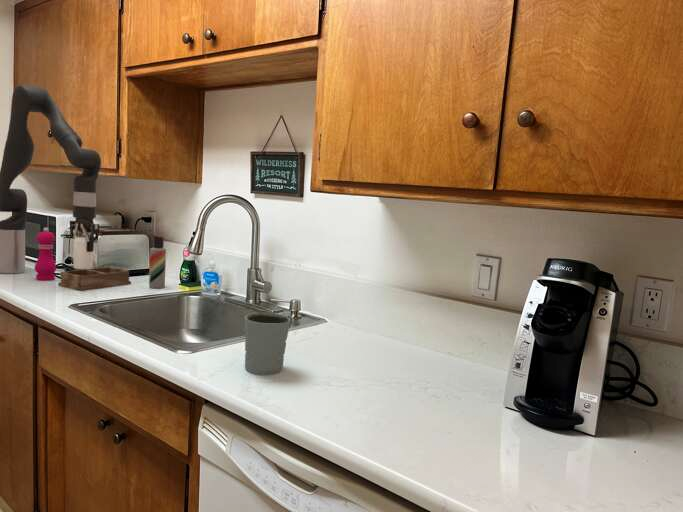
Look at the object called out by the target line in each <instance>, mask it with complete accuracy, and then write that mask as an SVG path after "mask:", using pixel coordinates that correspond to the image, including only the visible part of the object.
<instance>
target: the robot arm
mask: <svg viewBox="0 0 683 512" xmlns="http://www.w3.org/2000/svg"><path fill="white" fill-rule="evenodd" d="M10 105H11V106H10V117H9V125H8V131H7V135H6V140H5V144H4V149H3V155H2V160H1V164H0V165H1V166H0V213H1V212H2V213H12V215H11V216H9V217H8V218H5V219H2V220H0V274H21V273H25V272H26V224H27V214H28V213H27V212H28V211H27V209H28V196H27V193H26V192H25V190H23V189H22V188H21V189H20V188H11V187H12V184H13V182H14V181H15V180H16V178H18V177H19V176H20V175H21V174H22V173H23V172H24V171H26V169H27V168H28V167H29V166H30V165H31V163H32V160H33V157H34V156H33V155H34V151H35V143H34V140H33V138H32V136H31V133H30V132H29V128H28V118H29V114H30V113H41V114H42V115H43V116H44V117H45V118H47V120H48V121H49V129H50V130H49V131H50V133H51V135H52V137H53V139H54V140H55V141H56V143H58V145H60V147H61V148H62V149H63V152H64V154H65V156H66V158H67V160H68V162H69V163H70V164H71V166H73V167H74V168H77V169H83V170H82V172H81V174H78V175H76V176H75V177H74V179H73V197H72V217H73V218H75V220H69V234H70V235H69V237H71V238H73V240H74V239H75V237H76V236H77V235H84V236H86V239H87V241H88V242H87V252H93V249H95V248H94V247H95V245H94V244H95V241H98V240H99V233H100V223H95V222H94V219H95V218H96V217H97V195H96V191H97V190H96V182H97V179H98V175H99V173H100V169H101V165H102V160H101V159H102V158H101V156H100V153H98V151H96V150H93V149H88V148H83V141H82V138H81V137H80V135H78V134H77V133H76V131H75V130H74V129H73V128H72V127H71V125H70V124H69V123H68V121H66V119H65V117H64V115H63V114H62V112H61V111H60V109H59V107H58V106H57V104H56V103H55V101H54V99H53V98H52V96H51V95H50V93H49V92H48V91H47V90H46V89H45V88H44V87H41V86H34V85H26V84H18V85H17V86H16V87H15V88H14V89H13V92H12V97H11V104H10ZM89 236H90V237H89Z"/></svg>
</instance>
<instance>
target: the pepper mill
mask: <svg viewBox="0 0 683 512" xmlns="http://www.w3.org/2000/svg"><path fill="white" fill-rule="evenodd" d="M42 230H43V231H41V232H39V233H38V234H37V235H36V241H37V242H38V247H37V248H38V249H39V253H38V258H37V260H36V262H35V265H34V271H35V272H36V273H37V274H36V277H35V279H36V280H37V281H45V282H46V281H48V282H49V281H54V280H55V279H56V274H55V272H56V271H57V263H56V262H55V259H54V256H53V249H54V244H53V243H54V242H55V240H56V238H55V235H54V233H52V232H51V231H50V230H49V228H48V227H44V228H43V229H42Z"/></svg>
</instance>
